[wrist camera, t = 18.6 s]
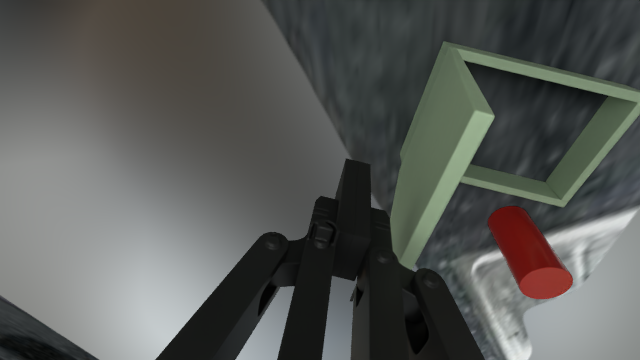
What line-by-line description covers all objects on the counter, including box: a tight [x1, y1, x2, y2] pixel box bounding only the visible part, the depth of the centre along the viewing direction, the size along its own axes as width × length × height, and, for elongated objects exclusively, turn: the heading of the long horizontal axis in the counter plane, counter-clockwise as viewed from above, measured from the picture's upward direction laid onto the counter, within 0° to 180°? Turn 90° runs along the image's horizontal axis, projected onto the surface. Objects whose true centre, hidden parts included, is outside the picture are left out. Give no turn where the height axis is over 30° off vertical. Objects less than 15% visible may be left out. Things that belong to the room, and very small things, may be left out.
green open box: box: [400, 41, 640, 207], centre depth 35 cm, size 20×14×5 cm
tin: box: [488, 206, 573, 299], centre depth 39 cm, size 5×5×12 cm
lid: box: [390, 47, 495, 270], centre depth 24 cm, size 21×14×1 cm
